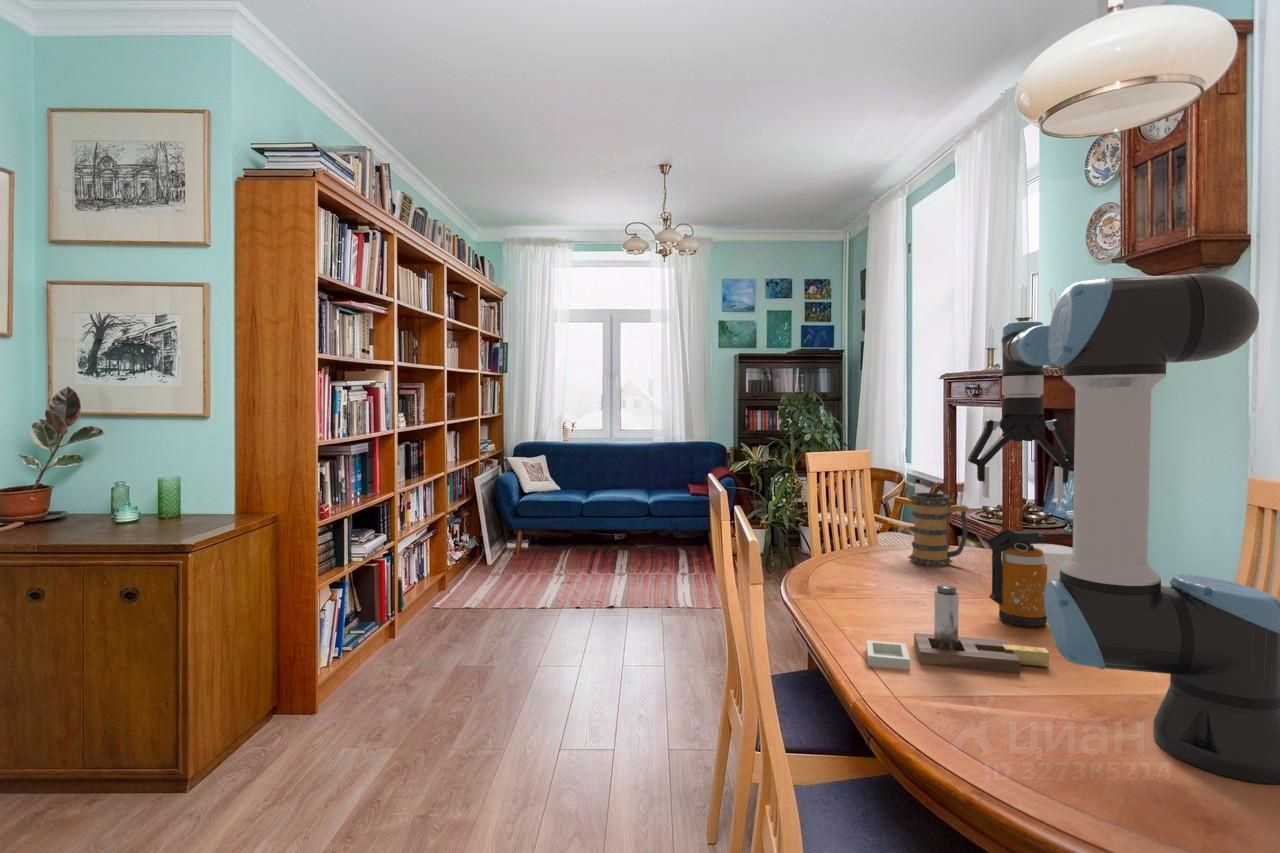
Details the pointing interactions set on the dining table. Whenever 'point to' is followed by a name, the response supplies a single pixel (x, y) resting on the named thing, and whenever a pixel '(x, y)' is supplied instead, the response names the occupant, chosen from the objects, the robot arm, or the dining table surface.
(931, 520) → the mug
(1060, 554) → the cup
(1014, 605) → the canister
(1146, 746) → the dining table surface
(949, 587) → the metal round-nosed cylinder
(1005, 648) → the bar
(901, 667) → the pale grey square tray
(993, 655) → the socket block
